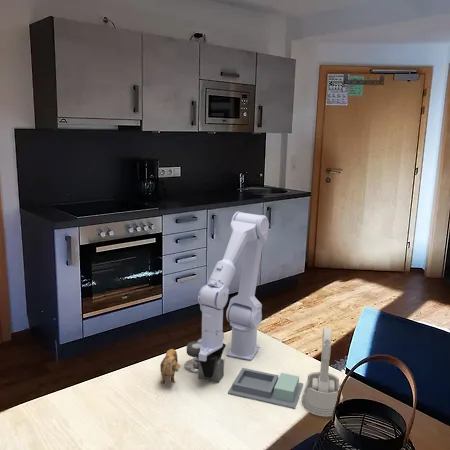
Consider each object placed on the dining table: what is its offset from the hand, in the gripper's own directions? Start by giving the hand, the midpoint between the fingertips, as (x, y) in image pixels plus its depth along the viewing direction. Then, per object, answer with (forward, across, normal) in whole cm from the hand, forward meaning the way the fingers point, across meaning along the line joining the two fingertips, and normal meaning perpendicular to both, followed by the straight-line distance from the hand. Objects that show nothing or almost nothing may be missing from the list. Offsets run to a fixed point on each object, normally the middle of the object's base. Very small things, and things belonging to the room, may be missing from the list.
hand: (211, 372), depth 131 cm
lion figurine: (+2, +4, -10) cm, 11 cm away
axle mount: (+1, -4, -6) cm, 7 cm away
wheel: (-3, -4, -6) cm, 8 cm away
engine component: (+2, +1, +31) cm, 31 cm away
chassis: (+1, 0, +16) cm, 16 cm away
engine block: (+1, 0, 0) cm, 1 cm away
